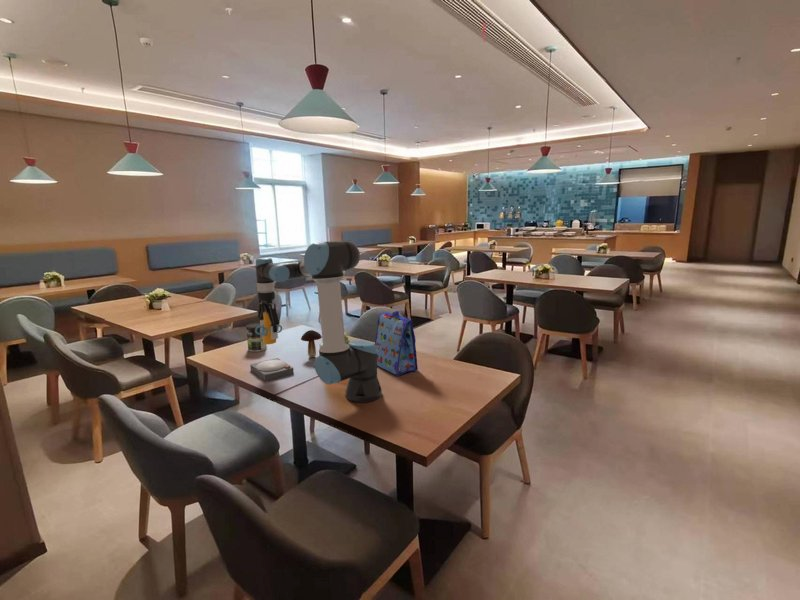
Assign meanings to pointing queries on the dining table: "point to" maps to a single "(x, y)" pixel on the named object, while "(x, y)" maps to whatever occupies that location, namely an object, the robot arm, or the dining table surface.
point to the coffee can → (255, 338)
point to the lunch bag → (395, 344)
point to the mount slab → (271, 369)
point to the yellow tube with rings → (267, 330)
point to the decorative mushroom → (311, 341)
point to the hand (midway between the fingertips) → (269, 335)
